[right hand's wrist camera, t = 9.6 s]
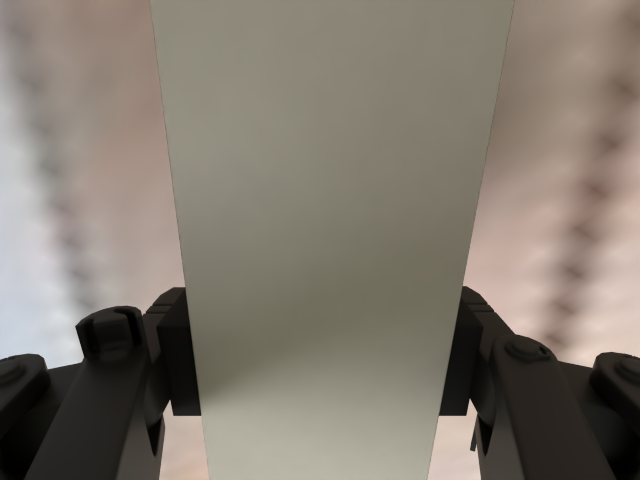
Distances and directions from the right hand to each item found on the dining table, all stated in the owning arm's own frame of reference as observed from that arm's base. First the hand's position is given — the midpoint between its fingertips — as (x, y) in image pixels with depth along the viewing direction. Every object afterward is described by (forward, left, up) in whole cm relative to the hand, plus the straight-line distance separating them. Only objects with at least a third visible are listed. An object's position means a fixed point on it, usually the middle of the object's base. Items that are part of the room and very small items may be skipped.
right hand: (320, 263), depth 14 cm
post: (+31, +14, -1) cm, 34 cm away
